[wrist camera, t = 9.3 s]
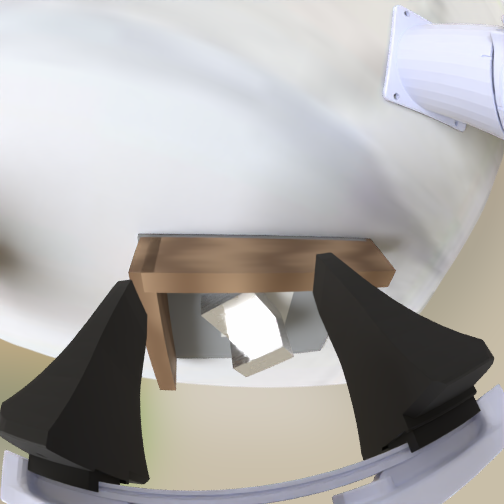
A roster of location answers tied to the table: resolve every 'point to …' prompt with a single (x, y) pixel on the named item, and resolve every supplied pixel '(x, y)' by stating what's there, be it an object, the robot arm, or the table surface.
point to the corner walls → (232, 276)
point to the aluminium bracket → (249, 329)
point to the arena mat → (217, 344)
